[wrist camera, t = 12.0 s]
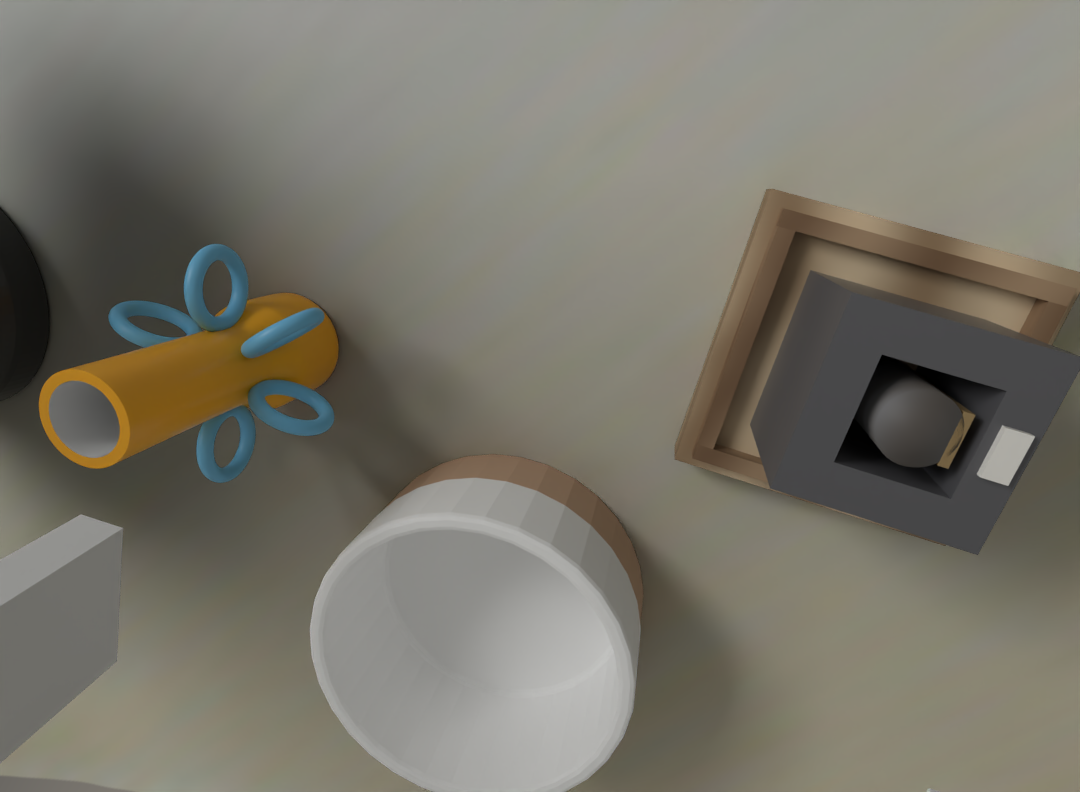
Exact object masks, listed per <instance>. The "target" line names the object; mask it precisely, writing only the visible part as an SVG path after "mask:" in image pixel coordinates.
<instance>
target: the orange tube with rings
mask: <svg viewBox="0 0 1080 792" xmlns="http://www.w3.org/2000/svg"><path fill="white" fill-rule="evenodd" d="M217 260H220V261H222V262H223V263H224V264H225V265H226V266H227V268H228V270H229V272H230V275H231V280H232V294H231V299H230V302H229V305H228V306H227V307H225V308H223V309H222V310H221V311H219V312H218V313H217V314H216V315H215V316H213V315H211V314H210V313H209V311H208V310H207V308H206V306H205V303H204V299H203V281H204V277H205V274H206V271H207V269H208V268H209V266H210V265H211V264H212V263H213V262H215V261H217ZM184 297H185V303H186V306H187V309H188V311H189V314H190V315H191V317H192V318H191V317H189V316H188V315H186V314H185V313H183V312H181V311H179V310H177V309H174V308H172V307H169V306H166V305H163V304H159V303H154V302H149V301H126V302H122V303H119V304H117V305H115V306H114V307H113V308H112V309H111V310H110V312H109V322H110V325H111V326H112V328H113V329H114V330H115V331H116V332H117V333H118V334H119V335H120V336H122V337H123V338H125V339H126V340H128V341H130V342H132V343H134V344H136V345H138V346H141V347H144V348H142V349H138V350H135V351H131V352H127V353H124V354H120V355H117V356H113V357H109V358H106V359H102V360H98V361H95V362H91V363H88V364H84V365H80V366H77V367H73V368H69V369H66V370H62V371H59V372H57V373H55V374H53V375H52V376H51V377H50V378H49V379H48V380H47V381H46V382H45V384H44V385H43V387H42V390H41V393H40V397H39V413H40V418H41V422H42V425H43V428H44V430H45V432H46V434H47V436H48V437H49V439H50V441H51V442H52V443H53V445H54V446H55V447H56V448H57V449H58V450H59V451H60V452H61V453H62V454H63V455H64V456H65V457H67V458H68V459H70V460H71V461H73V462H75V463H77V464H79V465H81V466H84V467H88V468H96V469H99V468H106V467H109V466H111V465H114V464H116V463H118V462H120V461H122V460H124V459H126V458H129V457H131V456H133V455H135V454H137V453H139V452H141V451H144V450H146V449H148V448H150V447H152V446H154V445H156V444H158V443H161V442H163V441H165V440H167V439H169V438H171V437H173V436H176V435H178V434H180V433H182V432H184V431H186V430H188V429H191V428H193V427H195V426H197V425H199V424H201V423H203V424H202V426H201V429H200V432H199V435H198V439H197V447H196V455H197V461H198V465H199V468H200V470H201V472H202V473H203V474H204V476H205V477H206V478H208V479H209V480H211V481H213V482H217V483H224V482H228V481H230V480H232V479H234V478H236V477H237V476H238V475H239V474H240V473H241V472H242V471H243V470H244V468H245V467H246V465H247V464H248V462H249V460H250V458H251V455H252V452H253V449H254V445H255V436H256V430H255V423H254V419H253V417H252V414H251V413H250V411H249V410H248V409H247V408H250V409H251V410H252V411H253V413H254V414H255V415H256V416H257V417H258V418H259V419H260V420H262V421H263V422H265V423H266V424H268V425H269V426H271V427H273V428H275V429H278V430H280V431H283V432H286V433H289V434H294V435H301V436H313V435H318V434H321V433H324V432H326V431H327V430H328V429H329V428H330V427H331V426H332V425H333V422H334V411H333V409H332V407H331V405H330V404H329V403H328V401H327V400H326V399H325V398H323V397H322V396H321V395H320V394H318V393H317V392H315V391H314V389H316V388H317V387H319V386H321V385H322V384H323V383H325V382H326V381H327V380H328V378H329V377H330V376H331V374H332V373H333V371H334V369H335V367H336V363H337V360H338V352H339V345H338V337H337V334H336V330H335V328H334V326H333V324H332V322H331V320H330V319H329V317H328V316H327V314H326V313H325V312H324V311H323V310H322V309H321V308H320V307H319V306H318V305H317V304H315V303H314V302H312V301H311V300H310V299H307V298H305V297H303V296H301V295H298V294H293V293H276V294H271V295H267V296H263V297H258V298H254V299H250V300H247V299H248V277H247V272H246V269H245V266H244V264H243V262H242V260H241V258H240V257H239V256H238V254H237V253H236V252H235V251H234V250H232V249H231V248H229V247H227V246H225V245H222V244H211V245H208V246H205V247H203V248H202V249H200V250H199V251H198V252H197V253H196V254H195V255H194V257H193V258H192V260H191V261H190V263H189V265H188V268H187V271H186V274H185V280H184ZM131 316H149V317H154V318H158V319H162V320H165V321H167V322H170V323H172V324H174V325H176V326H178V327H179V328H181V329H182V330H183V331H184V332H185V333H186V334H187V335H186V336H184V337H165V336H160V335H156V334H152V333H149V332H147V331H144V330H142V329H140V328H138V327H136V326H135V325H133V324H132V323H131V322H130V321H129V320H128V319H127V318H128V317H131ZM201 328H203V329H205V331H202V329H201ZM295 399H298V400H301V401H303V402H305V403H306V404H308V405H309V406H311V407H312V408H313V409H314V410H315V411H316V412H317V413H318V416H319V417H318V418H317V419H314V420H301V419H296V418H292V417H289V416H287V415H284V414H282V413H280V412H278V411H277V410H275V409H274V408H278V407H280V406H283V405H285V404H287V403H289V402H291V401H293V400H295ZM231 416H233V417H235V418H236V419H237V421H238V423H239V427H240V442H239V446H238V449H237V452H236V454H235V456H234V458H233V459H232V461H231V462H230V463H229V464H228V465H227V466H226V467H223V468H220V467H219V466H218V465H217V464H216V462H215V458H214V442H215V437H216V434H217V432H218V430H219V428H220V426H221V424H222V423H223V422H224V421H225V420H226V419H227V418H228V417H231Z"/></svg>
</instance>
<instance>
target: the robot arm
mask: <svg viewBox="0 0 1080 792" xmlns="http://www.w3.org/2000/svg"><path fill="white" fill-rule="evenodd" d="M48 331H49V315H48V305H47V298H46V294H45V289H44V285H43V282H42V279H41V276H40V273H39V270H38V267H37V265H36V262H35V260H34V258H33V256H32V254H31V252H30V250H29V248H28V246H27V245H26V243H25V241H24V240H23V238H22V236H21V235H20V233H19V232H18V230H17V229H16V228H15V226H14V225H13V224H12V222H11V221H10V220H9V219H8V218H7V216H6V215H5V214H4V213H3V212H2V211H1V210H0V401H1V400H4V399H6V398H9V397H11V396H12V395H14V394H16V393H17V392H19V391H20V390H21V389H23V388H24V387H25V386H26V385H27V384H28V383H29V382H30V381H31V379H32V378H33V377H34V375H35V374H36V372H37V370H38V368H39V366H40V364H41V362H42V359H43V357H44V354H45V350H46V346H47V340H48ZM122 542H123V528H122V527H118V526H115V525H112V524H109V523H106V522H103V521H100V520H97V519H94V518H91V517H88V516H84V515H79V516H77V517H75V518H73V519H72V520H70V521H68V522H66V523H65V524H63V525H61V526H59V527H58V528H56V529H54V530H52V531H50V532H49V533H47V534H45V535H43V536H42V537H40V538H38V539H36V540H34V541H33V542H31V543H29V544H27V545H26V546H24V547H22V548H20V549H19V550H17V551H15V552H13V553H11V554H10V555H8V556H6V557H4V558H3V559H1V560H0V763H1V762H2V761H3V760H5V759H6V758H7V757H8V756H9V755H10V754H11V753H13V752H14V751H15V750H16V749H17V748H18V747H19V746H21V745H22V744H23V743H24V742H25V741H26V740H27V739H29V738H30V737H31V736H32V735H33V734H34V733H35V732H37V731H38V730H39V729H40V728H41V727H42V726H43V725H45V724H46V723H47V722H48V721H49V720H50V719H51V718H53V717H54V716H55V715H56V714H57V713H58V712H59V711H61V710H62V709H63V708H64V707H65V706H66V705H67V704H69V703H70V702H71V701H72V700H73V699H74V698H75V697H77V696H78V695H79V694H80V693H81V692H82V691H83V690H85V689H86V688H87V687H88V686H89V685H90V684H91V683H93V682H94V681H95V680H96V679H97V678H98V677H99V676H101V675H102V674H103V673H104V672H105V671H106V670H107V669H109V668H110V667H111V666H112V665H113V664H114V663H115V662H117V649H118V628H119V606H120V585H121V564H122ZM926 792H939V791H936V790H933V789H930V788H928V789H927V791H926Z"/></svg>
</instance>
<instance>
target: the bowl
mask: <svg viewBox="0 0 1080 792" xmlns="http://www.w3.org/2000/svg"><path fill="white" fill-rule="evenodd" d="M642 603H643V585H642V577H641V569H640V565H639V562H638V559H637V556H636V554H635V551H634V548H633V545H632V542H631V540H630V539H629V537H628V535H627V534H626V532H625V530H624V529H623V527H622V525H621V524H620V522H619V520H618V519H617V517H616V516H615V515H614V514H613V513H612V512H611V511H610V510H609V508H608V507H607V506H606V505H605V504H604V503H603V502H602V501H601V500H600V498H599V497H598V496H596V495H595V494H594V493H593V492H591V491H590V490H589V489H587V488H586V487H585V486H583V485H582V484H581V483H580V482H578V481H577V480H576V479H574V478H572V477H570V476H568V475H566V474H564V473H562V472H561V471H559V470H557V469H555V468H553V467H551V466H549V465H545V464H542V463H539V462H536V461H532V460H529V459H526V458H522V457H515V456H506V455H497V454H490V455H477V456H466V457H462V458H459V459H455V460H452V461H448V462H445V463H441V464H439V465H438V466H436V467H434V468H432V469H430V470H428V471H426V472H424V473H423V474H421V475H419V476H418V477H417V478H416V479H414V480H413V481H412V482H411V483H410V484H409V485H407V486H406V487H405V488H404V489H403V490H402V491H401V492H400V493H399V494H398V495H397V496H396V497H395V498H394V499H393V500H392V501H391V502H390V503H389V504H388V505H387V506H386V507H385V508H384V509H383V510H382V511H381V512H380V513H379V514H378V515H377V516H376V517H375V518H374V519H373V520H372V521H371V522H370V523H369V524H368V525H367V526H366V527H365V528H364V529H363V530H362V531H361V532H360V533H359V534H358V536H357V537H356V538H355V539H354V540H353V541H352V542H351V543H350V544H349V545H348V546H347V547H346V548H345V549H344V550H343V551H342V552H341V553H340V555H339V556H338V557H337V559H336V560H335V562H334V563H333V564H332V566H331V567H330V568H329V570H328V571H327V573H326V574H325V575H324V578H323V580H322V583H321V585H320V588H319V590H318V593H317V595H316V598H315V600H314V604H313V611H312V618H311V624H310V641H311V656H312V660H313V663H314V667H315V671H316V674H317V678H318V682H319V684H320V686H321V688H322V690H323V692H324V695H325V697H326V699H327V701H328V703H329V705H330V707H331V709H332V710H333V712H334V713H335V715H336V716H337V717H338V719H339V720H340V722H341V723H342V724H343V726H344V727H345V729H346V730H347V731H348V733H349V734H350V735H351V736H352V737H353V738H354V739H355V740H356V741H357V742H358V743H359V744H360V745H361V746H362V747H363V748H364V749H365V750H366V751H367V752H368V753H369V754H370V755H371V756H373V757H374V758H375V759H377V760H378V761H379V762H381V763H382V764H383V765H384V766H386V767H387V768H388V769H390V770H391V771H392V772H394V773H396V774H398V775H399V776H401V777H403V778H405V779H407V780H408V781H410V782H412V783H414V784H416V785H418V786H419V787H422V788H424V789H427V790H430V791H432V792H566V791H568V790H569V789H571V788H573V787H575V786H576V785H578V784H580V783H582V782H583V781H585V780H587V779H588V778H589V777H590V776H592V775H593V774H594V773H595V772H596V771H597V770H598V769H599V768H600V767H601V766H602V765H604V764H605V763H606V762H607V761H608V759H609V758H610V756H611V755H612V753H613V752H614V750H615V749H616V747H617V746H618V744H619V743H620V741H621V740H622V738H623V737H624V735H625V732H626V729H627V727H628V724H629V721H630V718H631V715H632V713H633V710H634V700H635V689H636V679H637V668H638V656H639V645H640V634H641V626H640V625H641V614H642Z"/></svg>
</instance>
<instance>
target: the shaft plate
mask: <svg viewBox="0 0 1080 792" xmlns="http://www.w3.org/2000/svg"><path fill="white" fill-rule="evenodd" d="M810 270H812V271H816V272H819V273H823V274H826V275H830V276H834V277H837V278H841V279H844V280H848V281H851V282H855V283H858V284H862V285H865V286H869V287H872V288H876V289H879V290H883V291H886V292H890V293H894V294H897V295H901V296H904V297H908V298H911V299H915V300H918V301H922V302H925V303H929V304H932V305H936V306H939V307H943V308H946V309H950V310H954V311H957V312H961V313H964V314H968V315H971V316H975V317H978V318H982V319H985V320H988V321H990V322H993V323H996V324H998V325H1001V326H1003V327H1006V328H1008V329H1011V330H1013V331H1016V332H1019V333H1021V334H1024V335H1026V336H1029V337H1031V338H1034V339H1036V340H1039V341H1042V342H1044V343H1047V344H1049V345H1052V344H1053V342H1054V340H1055V338H1056V337H1057V335H1058V333H1059V331H1060V329H1061V327H1062V325H1063V323H1064V322H1065V320H1066V318H1067V316H1068V314H1069V312H1070V310H1071V308H1072V306H1073V305H1074V303H1075V301H1076V299H1077V297H1078V295H1079V293H1080V272H1077V271H1073V270H1069V269H1066V268H1062V267H1058V266H1055V265H1051V264H1047V263H1044V262H1040V261H1036V260H1033V259H1029V258H1025V257H1022V256H1018V255H1014V254H1010V253H1007V252H1003V251H999V250H996V249H992V248H988V247H985V246H981V245H977V244H974V243H970V242H966V241H963V240H959V239H955V238H952V237H948V236H944V235H941V234H937V233H933V232H929V231H926V230H922V229H918V228H915V227H911V226H907V225H904V224H900V223H896V222H893V221H889V220H885V219H882V218H878V217H874V216H871V215H867V214H863V213H859V212H856V211H852V210H848V209H845V208H841V207H837V206H834V205H830V204H826V203H823V202H819V201H815V200H812V199H808V198H804V197H801V196H797V195H793V194H789V193H786V192H782V191H778V190H775V189H766V192H765V195H764V198H763V201H762V203H761V206H760V209H759V212H758V215H757V217H756V220H755V223H754V226H753V229H752V232H751V234H750V237H749V240H748V243H747V246H746V248H745V251H744V254H743V257H742V260H741V262H740V265H739V268H738V271H737V274H736V276H735V279H734V282H733V285H732V288H731V290H730V293H729V296H728V299H727V302H726V304H725V307H724V310H723V313H722V316H721V318H720V321H719V324H718V327H717V330H716V332H715V335H714V338H713V341H712V344H711V346H710V349H709V352H708V355H707V358H706V360H705V363H704V366H703V369H702V372H701V374H700V377H699V380H698V383H697V386H696V388H695V391H694V394H693V397H692V400H691V402H690V405H689V408H688V411H687V414H686V416H685V419H684V422H683V425H682V428H681V430H680V433H679V436H678V439H677V442H676V444H675V459H676V460H679V461H682V462H685V463H688V464H691V465H694V466H697V467H700V468H704V469H707V470H710V471H713V472H716V473H719V474H722V475H725V476H729V477H732V478H735V479H738V480H741V481H744V482H747V483H750V484H753V485H757V486H760V487H763V488H766V489H769V490H772V491H775V492H778V493H782V494H785V495H788V496H791V497H794V498H797V499H800V500H803V501H806V502H810V503H813V504H816V505H819V506H822V507H825V508H828V509H831V510H835V511H838V512H841V513H844V514H847V515H850V516H853V517H856V518H859V519H863V520H866V521H869V522H872V523H875V524H878V525H881V526H884V527H888V528H891V529H894V530H897V531H900V532H903V533H906V534H909V535H912V536H916V537H919V538H922V539H925V540H928V541H931V542H934V543H937V544H941V545H944V546H946V545H945V544H942V543H939V542H936V541H933V540H929V539H926V538H923V537H920V536H917V535H914V534H911V533H908V532H904V531H901V530H898V529H895V528H892V527H889V526H886V525H883V524H880V523H876V522H873V521H870V520H867V519H864V518H861V517H858V516H855V515H851V514H848V513H845V512H842V511H839V510H836V509H833V508H830V507H827V506H823V505H820V504H817V503H814V502H811V501H808V500H805V499H802V498H798V497H795V496H792V495H789V494H786V493H783V492H780V491H777V490H774V489H770V486H769V483H768V480H767V477H766V474H765V471H764V467H763V464H762V461H761V458H760V455H759V452H758V448H757V445H756V442H755V439H754V436H753V433H752V429H751V426H750V423H751V420H752V417H753V415H754V412H755V410H756V407H757V405H758V402H759V400H760V397H761V395H762V392H763V389H764V387H765V384H766V382H767V379H768V377H769V374H770V372H771V369H772V367H773V364H774V361H775V359H776V356H777V354H778V351H779V349H780V346H781V344H782V341H783V339H784V336H785V333H786V331H787V328H788V326H789V323H790V321H791V318H792V316H793V313H794V311H795V308H796V305H797V303H798V300H799V298H800V295H801V293H802V290H803V288H804V285H805V283H806V280H807V277H808V275H809V272H810ZM917 367H918V365H916V364H913V363H909V362H906V361H902V360H899V359H895V358H892V357H889V356H885V355H881V358H880V360H879V362H878V364H877V367H876V369H875V371H874V373H873V376H872V378H871V380H870V382H869V385H868V387H867V389H866V391H865V394H864V396H863V398H862V400H861V402H860V405H859V407H858V409H857V411H856V414H855V416H854V418H853V419H854V420H856V421H857V422H858V423H859V424H860V426H861V427H862V428H863V429H864V431H865V432H866V433H867V434H868V436H869V437H870V438H871V439H872V441H873V442H874V443H875V444H876V445H877V447H878V448H879V449H880V450H881V452H882V453H883V454H884V455H885V456H886V457H887V458H888V459H890V460H891V461H893V462H895V463H897V464H899V465H902V466H906V467H926V466H930V465H933V464H936V465H937V466H941V467H944V468H947V469H948V468H949V467H950V465H951V463H952V461H953V459H954V457H955V455H956V453H957V451H958V449H959V447H960V445H961V443H962V441H963V439H964V437H965V435H966V433H967V431H968V429H969V427H970V425H971V423H972V421H973V419H974V417H975V414H974V413H972V412H971V411H969V410H968V409H967V408H965V407H964V406H962V405H961V404H960V403H958V402H957V401H956V400H954V399H953V398H951V397H950V396H949V395H947V394H946V393H945V392H943V391H942V390H940V389H939V388H938V387H936V386H935V385H934V384H932V383H931V382H929V381H928V380H927V379H925V378H924V377H922V376H921V375H920V374H918V373H917V372H916V369H917Z"/></svg>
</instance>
